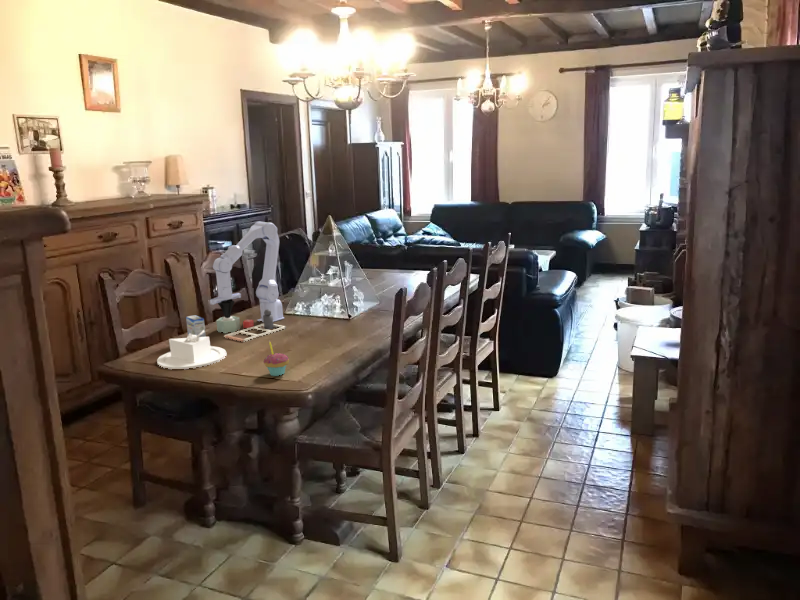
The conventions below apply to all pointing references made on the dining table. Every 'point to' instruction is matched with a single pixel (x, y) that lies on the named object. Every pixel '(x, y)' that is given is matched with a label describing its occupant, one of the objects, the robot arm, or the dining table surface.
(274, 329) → the game track
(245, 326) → the red die
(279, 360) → the cupcake
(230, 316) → the dome
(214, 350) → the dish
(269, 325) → the pawn
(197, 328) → the medicine box
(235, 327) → the dome base
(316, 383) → the dining table surface
